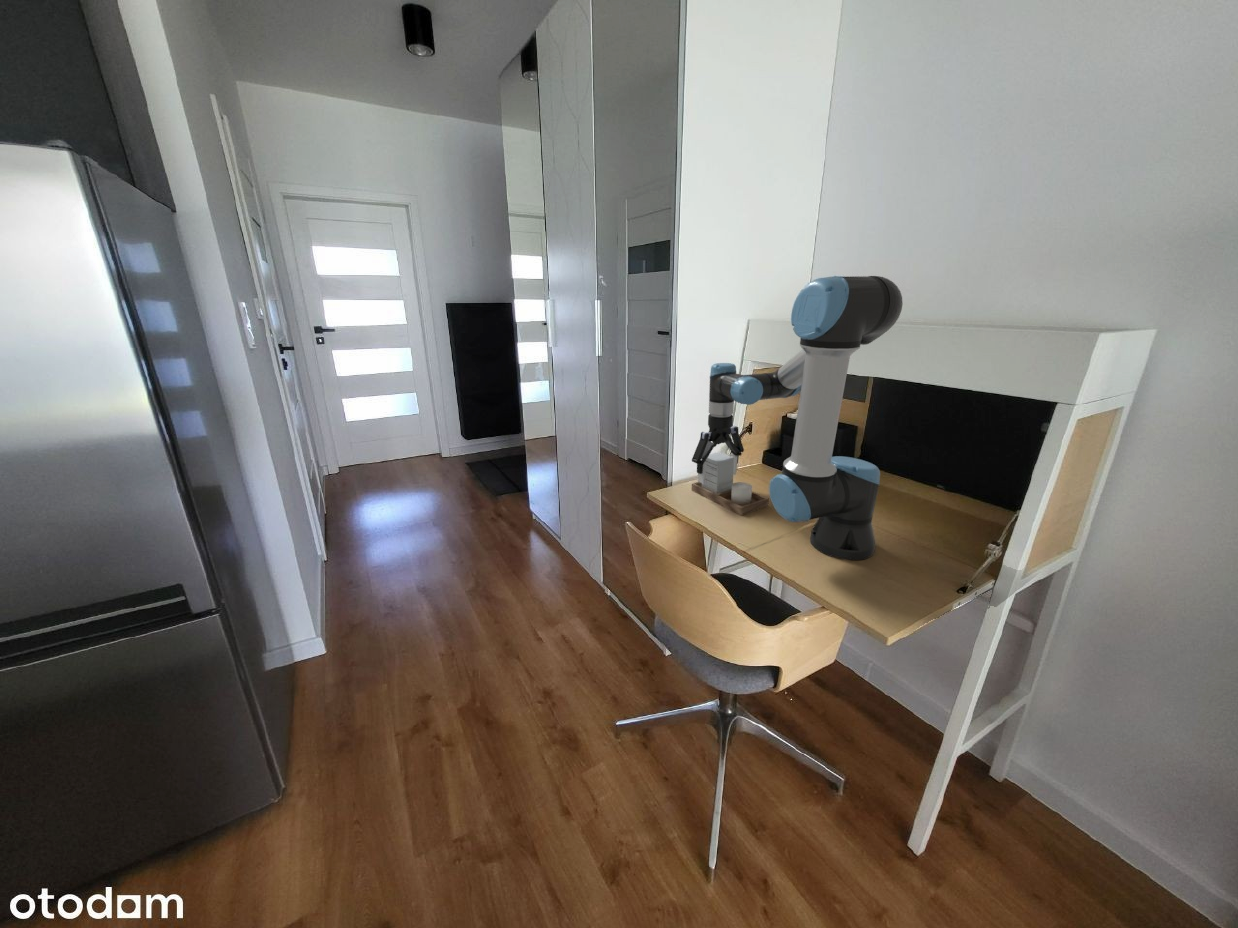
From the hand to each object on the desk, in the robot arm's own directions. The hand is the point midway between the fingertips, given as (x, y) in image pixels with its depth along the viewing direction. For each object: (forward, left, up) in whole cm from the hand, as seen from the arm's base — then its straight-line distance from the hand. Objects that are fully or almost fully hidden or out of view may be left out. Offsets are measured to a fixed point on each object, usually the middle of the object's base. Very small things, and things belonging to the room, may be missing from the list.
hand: (717, 477), depth 149 cm
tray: (-5, 0, -6) cm, 8 cm away
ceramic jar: (-11, 0, -5) cm, 12 cm away
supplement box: (0, 0, -5) cm, 5 cm away
